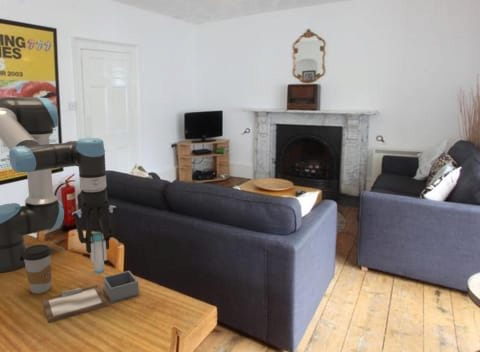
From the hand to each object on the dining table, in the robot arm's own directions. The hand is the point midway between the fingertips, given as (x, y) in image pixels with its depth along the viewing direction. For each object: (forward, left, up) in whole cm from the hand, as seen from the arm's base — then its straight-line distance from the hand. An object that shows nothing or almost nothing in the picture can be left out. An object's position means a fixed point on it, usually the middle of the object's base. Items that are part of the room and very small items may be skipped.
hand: (98, 259), depth 116 cm
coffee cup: (-19, -16, -15) cm, 29 cm away
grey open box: (-2, +7, -15) cm, 16 cm away
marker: (0, 0, -4) cm, 4 cm away
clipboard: (-3, -8, -15) cm, 17 cm away
